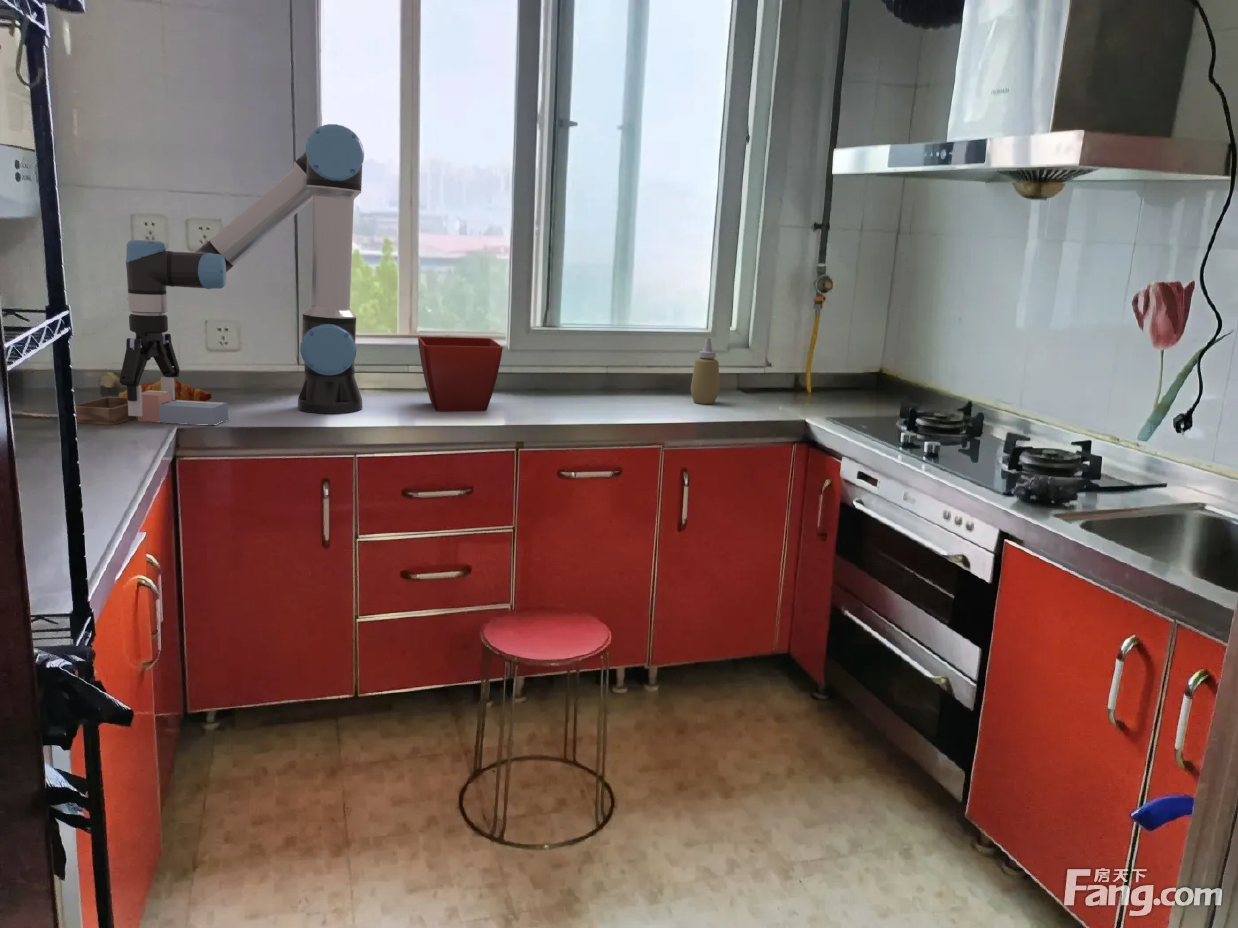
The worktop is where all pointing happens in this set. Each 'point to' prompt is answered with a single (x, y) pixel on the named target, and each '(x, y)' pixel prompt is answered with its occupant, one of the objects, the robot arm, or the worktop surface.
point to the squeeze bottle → (705, 376)
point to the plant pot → (460, 371)
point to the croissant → (176, 391)
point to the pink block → (153, 404)
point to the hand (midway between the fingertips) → (152, 410)
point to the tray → (104, 411)
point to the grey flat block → (193, 412)
